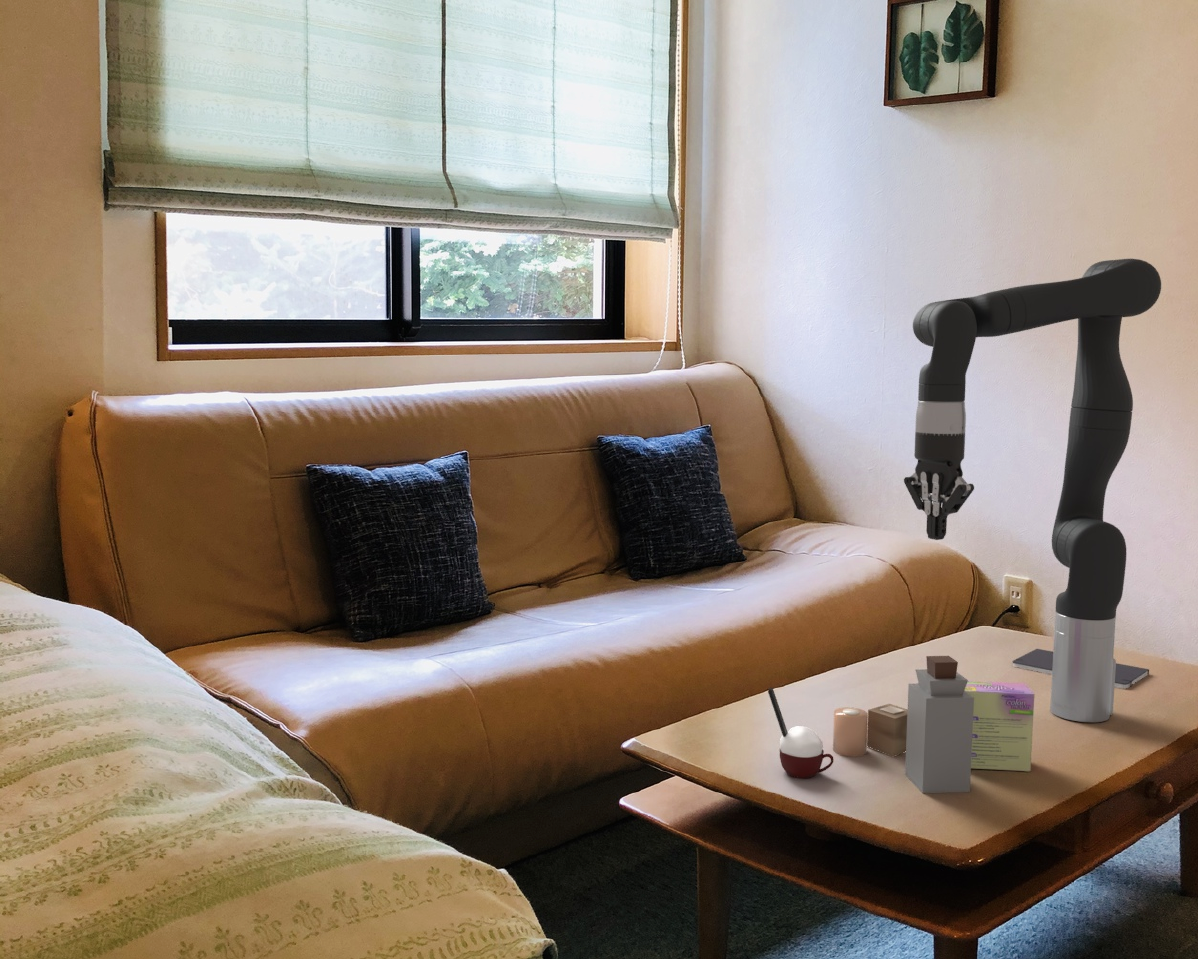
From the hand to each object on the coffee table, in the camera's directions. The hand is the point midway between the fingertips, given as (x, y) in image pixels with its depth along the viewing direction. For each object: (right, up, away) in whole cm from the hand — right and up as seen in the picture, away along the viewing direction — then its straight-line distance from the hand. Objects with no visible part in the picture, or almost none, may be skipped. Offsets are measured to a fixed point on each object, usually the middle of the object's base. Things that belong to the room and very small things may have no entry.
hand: (935, 538), depth 177 cm
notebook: (+38, -28, +36) cm, 59 cm away
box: (+4, -33, -12) cm, 35 cm away
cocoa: (-25, -33, -16) cm, 44 cm away
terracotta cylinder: (-15, -32, -7) cm, 36 cm away
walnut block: (-9, -32, -6) cm, 34 cm away
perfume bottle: (-6, -34, -19) cm, 39 cm away
